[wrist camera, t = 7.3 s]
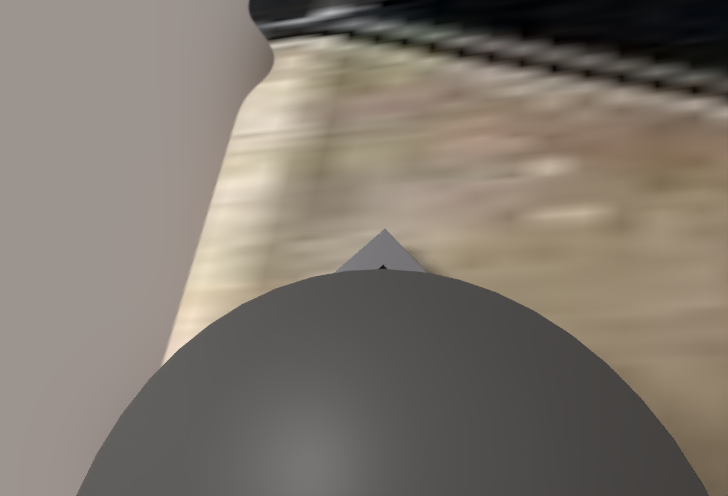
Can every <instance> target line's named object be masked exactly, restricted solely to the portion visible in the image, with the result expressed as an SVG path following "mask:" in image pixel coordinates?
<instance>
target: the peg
mask: <svg viewBox="0 0 728 496" xmlns="http://www.w3.org/2000/svg"><path fill="white" fill-rule="evenodd" d="M77 496H709V495H708V493H707V491H706V489H705V487H704V485H703V484H702V482H701V481H700V479H699V478H698V476H697V474H696V473H695V471H694V470H693V468H692V467H691V465H690V464H689V462H688V460H687V459H686V457H685V456H684V454H683V453H682V451H681V450H680V448H679V446H678V445H677V443H676V442H675V440H674V439H673V438H672V436H671V435H670V434H669V433H668V431H667V430H666V429H665V428H664V426H663V425H662V424H661V423H660V421H659V420H658V419H657V418H656V416H655V415H654V414H653V413H652V411H651V410H650V409H649V408H648V406H647V405H646V404H645V403H644V401H643V400H642V399H641V398H640V397H639V396H638V395H637V394H636V393H635V392H634V391H633V390H632V389H631V388H630V387H629V386H628V385H627V384H626V383H625V382H624V381H623V380H622V379H621V378H620V376H619V375H618V374H617V373H616V372H615V371H614V370H613V369H612V368H611V367H610V366H609V365H608V364H607V363H605V362H604V361H603V360H602V359H600V358H599V357H598V356H597V355H596V354H594V353H593V352H592V351H591V350H589V349H588V348H587V347H586V346H584V345H583V344H582V343H581V342H580V341H578V340H577V339H576V338H575V337H573V336H572V335H571V334H569V333H568V332H566V331H565V330H563V329H562V328H560V327H558V326H557V325H555V324H554V323H552V322H551V321H549V320H548V319H546V318H544V317H543V316H541V315H540V314H538V313H537V312H535V311H533V310H531V309H529V308H527V307H525V306H523V305H521V304H519V303H517V302H515V301H513V300H511V299H509V298H507V297H504V296H502V295H500V294H498V293H496V292H493V291H490V290H487V289H485V288H482V287H479V286H476V285H473V284H470V283H467V282H464V281H461V280H458V279H453V278H448V277H444V276H439V275H434V274H429V273H425V272H417V271H404V270H392V269H372V270H353V271H343V272H338V273H332V274H327V275H321V276H316V277H311V278H308V279H305V280H301V281H298V282H295V283H292V284H289V285H286V286H283V287H280V288H276V289H274V290H272V291H270V292H268V293H266V294H263V295H261V296H259V297H257V298H255V299H253V300H251V301H248V302H246V303H244V304H242V305H240V306H239V307H237V308H236V309H234V310H232V311H231V312H229V313H228V314H226V315H224V316H223V317H221V318H220V319H218V320H216V321H215V322H213V323H212V324H210V325H209V326H207V327H206V328H205V329H204V330H202V331H201V332H200V333H199V334H198V335H196V336H195V337H194V338H193V339H191V340H190V341H189V342H188V343H186V344H185V345H184V346H183V347H181V348H180V349H179V350H178V351H177V352H176V353H175V354H174V355H173V356H172V357H171V358H170V359H169V360H168V361H167V362H166V363H165V364H164V365H163V366H162V367H161V368H160V369H159V370H158V371H157V372H156V373H155V374H154V375H153V376H152V377H151V378H150V379H149V380H148V382H147V383H146V384H145V385H144V387H143V388H142V389H141V391H140V392H139V393H138V394H137V396H136V397H135V398H134V400H133V401H132V402H131V403H130V405H129V406H128V407H127V409H126V410H125V411H124V412H123V414H122V415H121V416H120V418H119V420H118V421H117V423H116V424H115V426H114V428H113V429H112V431H111V432H110V434H109V436H108V437H107V439H106V440H105V442H104V443H103V445H102V447H101V448H100V450H99V451H98V453H97V455H96V457H95V459H94V461H93V463H92V465H91V467H90V469H89V471H88V473H87V475H86V477H85V479H84V481H83V483H82V485H81V487H80V489H79V491H78V493H77Z"/></svg>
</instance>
